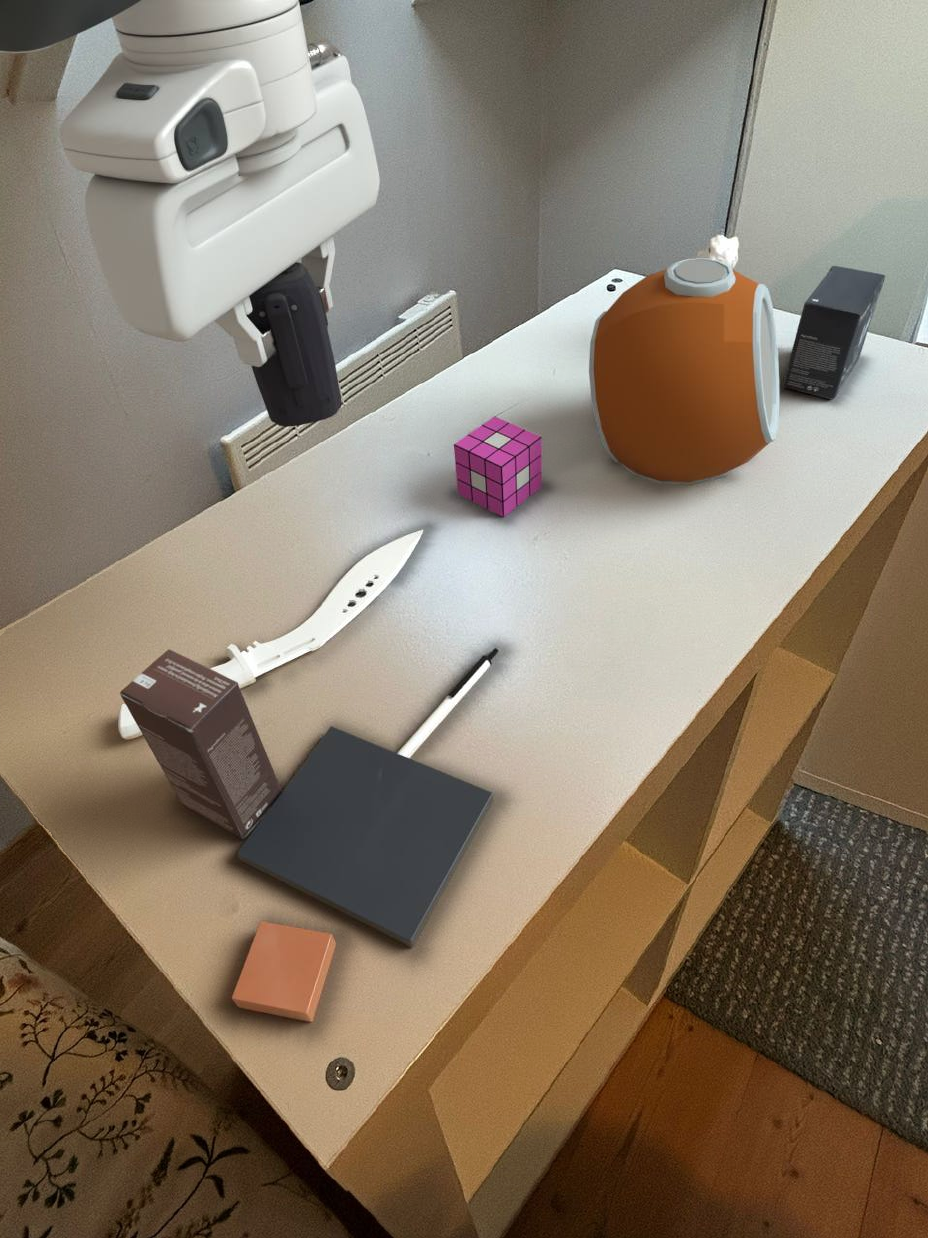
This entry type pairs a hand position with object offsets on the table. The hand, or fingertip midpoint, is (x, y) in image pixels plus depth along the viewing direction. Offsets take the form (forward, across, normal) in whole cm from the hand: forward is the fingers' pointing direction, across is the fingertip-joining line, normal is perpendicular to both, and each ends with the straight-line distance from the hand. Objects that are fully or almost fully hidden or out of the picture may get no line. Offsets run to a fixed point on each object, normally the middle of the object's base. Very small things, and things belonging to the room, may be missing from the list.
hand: (288, 336), depth 52 cm
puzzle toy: (+24, -18, +5) cm, 30 cm away
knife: (+24, +5, -3) cm, 24 cm away
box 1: (+24, +20, +3) cm, 31 cm away
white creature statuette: (+24, -51, +13) cm, 58 cm away
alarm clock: (+24, -31, +18) cm, 43 cm away
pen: (+24, +10, +12) cm, 29 cm away
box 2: (+24, -49, +27) cm, 61 cm away
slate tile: (+24, +18, +13) cm, 32 cm away
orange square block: (+24, +28, +14) cm, 39 cm away
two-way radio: (+6, 0, 0) cm, 6 cm away
